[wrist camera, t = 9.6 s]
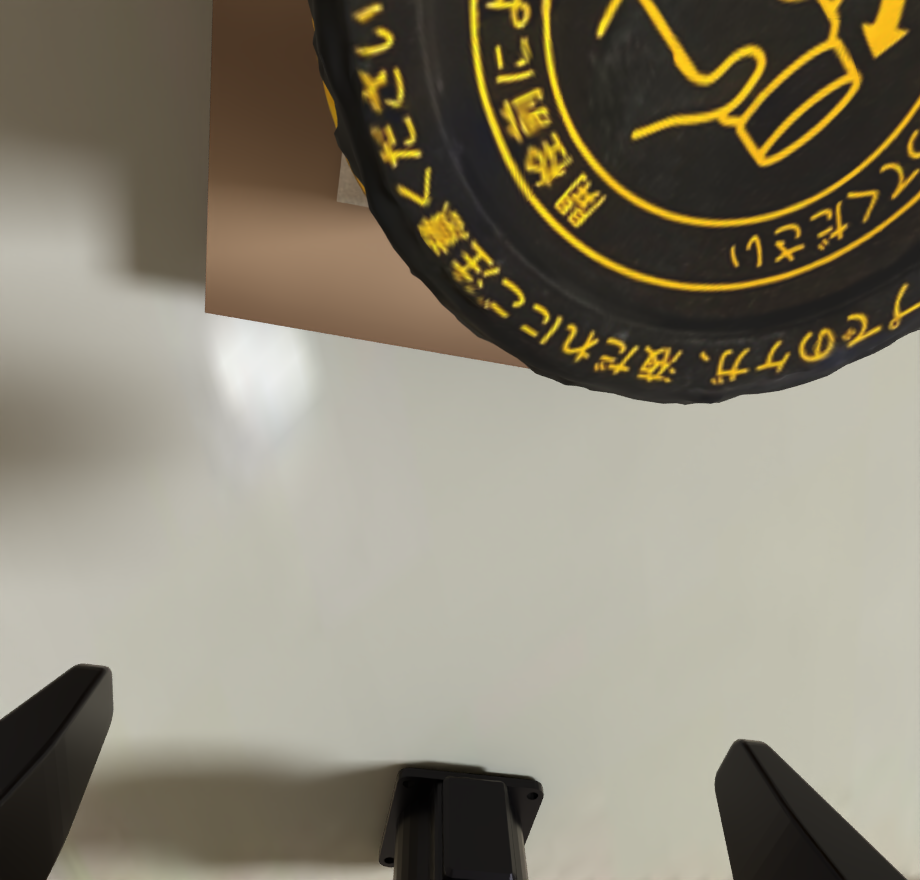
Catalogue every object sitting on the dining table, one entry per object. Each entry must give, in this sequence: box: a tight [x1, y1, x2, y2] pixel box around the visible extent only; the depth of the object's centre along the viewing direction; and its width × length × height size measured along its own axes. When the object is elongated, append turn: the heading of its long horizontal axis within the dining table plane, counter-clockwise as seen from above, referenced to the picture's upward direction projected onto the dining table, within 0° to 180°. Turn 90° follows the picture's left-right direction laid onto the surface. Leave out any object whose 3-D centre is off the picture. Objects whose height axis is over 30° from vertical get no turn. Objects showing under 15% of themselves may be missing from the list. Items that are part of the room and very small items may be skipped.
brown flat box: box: [205, 0, 530, 369], centre depth 16 cm, size 12×12×4 cm
